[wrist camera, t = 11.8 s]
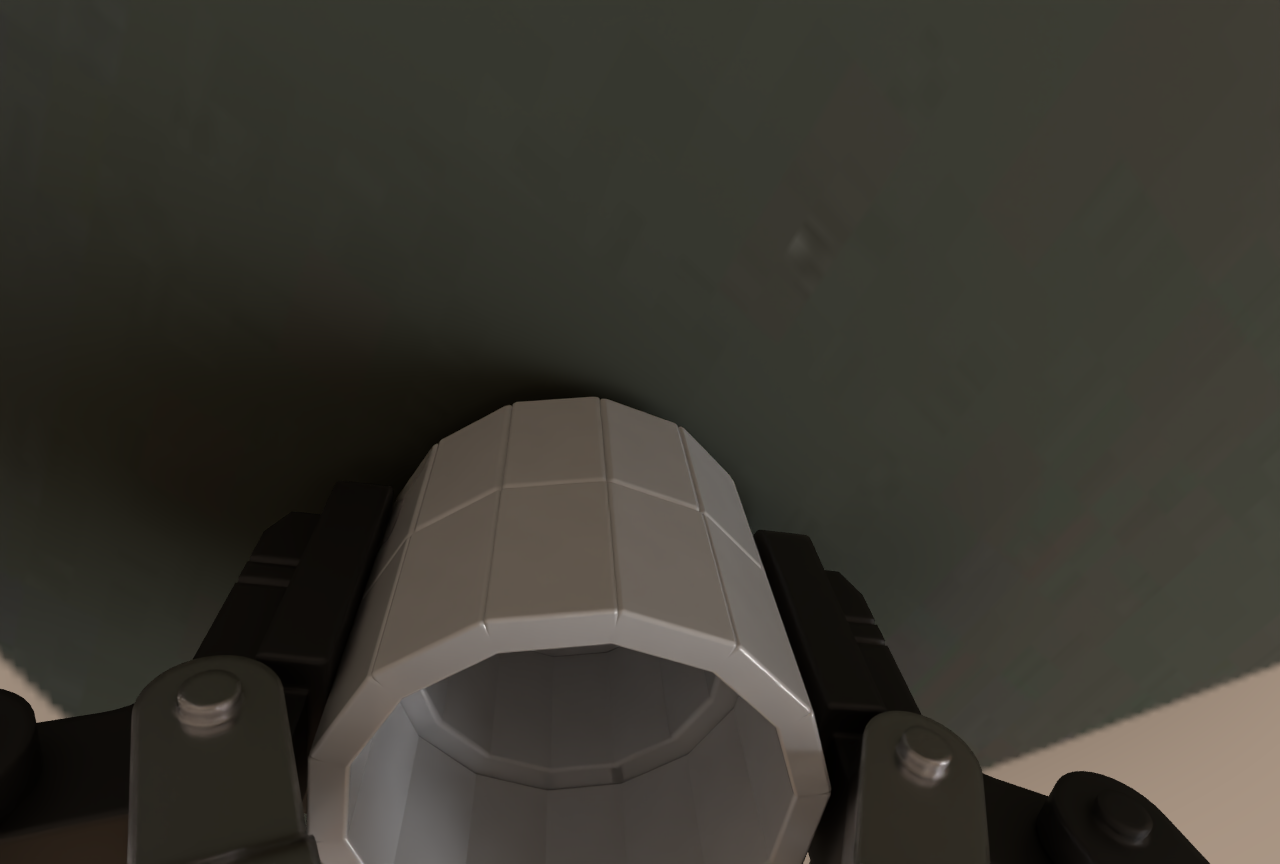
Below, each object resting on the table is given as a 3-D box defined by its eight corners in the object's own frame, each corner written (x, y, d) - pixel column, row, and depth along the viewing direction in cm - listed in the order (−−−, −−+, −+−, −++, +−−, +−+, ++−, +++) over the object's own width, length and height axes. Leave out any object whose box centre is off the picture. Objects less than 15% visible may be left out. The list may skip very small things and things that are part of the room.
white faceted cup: (387, 654, 14) (303, 968, 9) (408, 352, 11) (307, 580, 7) (698, 681, 15) (756, 982, 10) (776, 404, 12) (898, 638, 8)
